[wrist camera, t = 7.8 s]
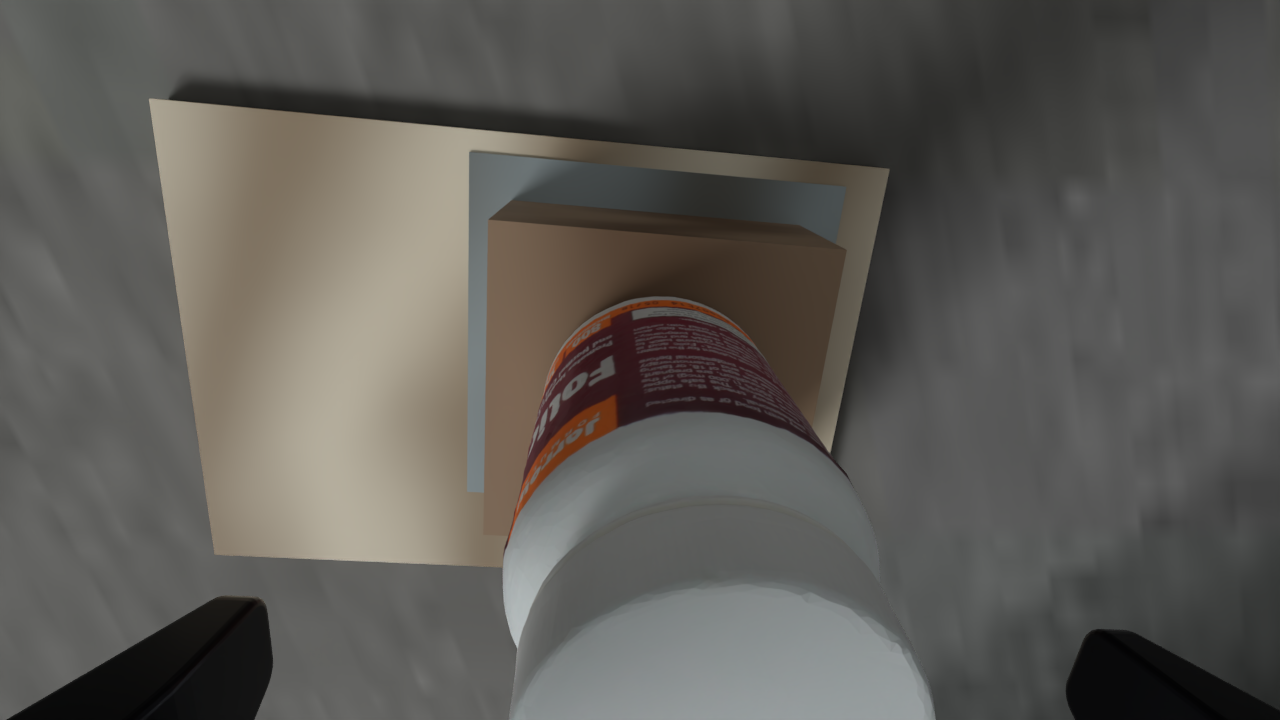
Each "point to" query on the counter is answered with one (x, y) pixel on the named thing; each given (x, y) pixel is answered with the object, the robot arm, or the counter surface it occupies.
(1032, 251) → the counter surface
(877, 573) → the pill bottle
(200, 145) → the plate
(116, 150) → the counter surface
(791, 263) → the walnut block
